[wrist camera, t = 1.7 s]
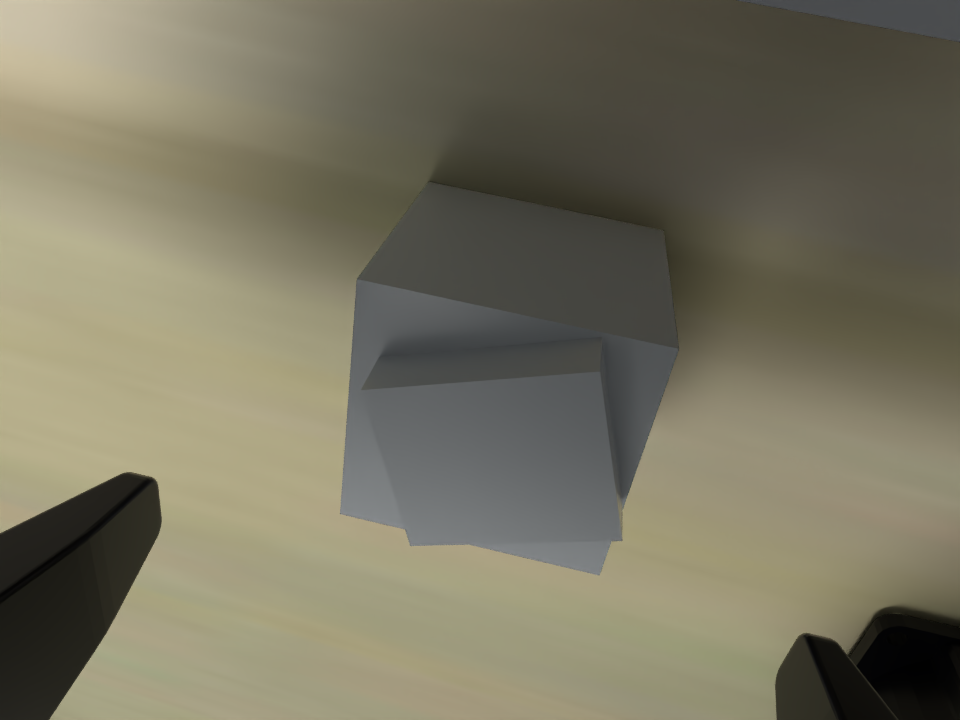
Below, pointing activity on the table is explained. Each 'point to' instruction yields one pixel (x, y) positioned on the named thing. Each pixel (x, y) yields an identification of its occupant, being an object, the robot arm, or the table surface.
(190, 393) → the table surface
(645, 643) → the table surface
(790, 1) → the trapdoor
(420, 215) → the slate block
